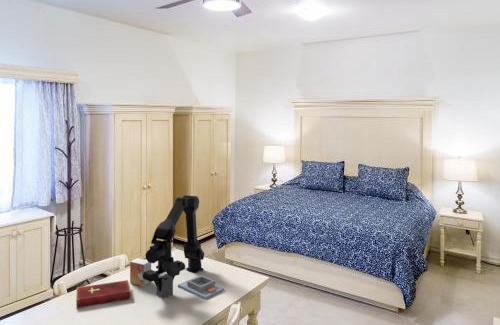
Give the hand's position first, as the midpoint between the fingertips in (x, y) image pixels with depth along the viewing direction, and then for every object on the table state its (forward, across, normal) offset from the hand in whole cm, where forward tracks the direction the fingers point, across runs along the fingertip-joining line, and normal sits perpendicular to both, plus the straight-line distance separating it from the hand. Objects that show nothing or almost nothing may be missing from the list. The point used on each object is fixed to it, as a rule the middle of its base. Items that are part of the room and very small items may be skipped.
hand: (164, 289), depth 163 cm
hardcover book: (+3, -19, +17) cm, 26 cm away
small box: (+3, 0, +18) cm, 18 cm away
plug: (+3, 0, 0) cm, 3 cm away
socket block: (+2, +15, -7) cm, 17 cm away
